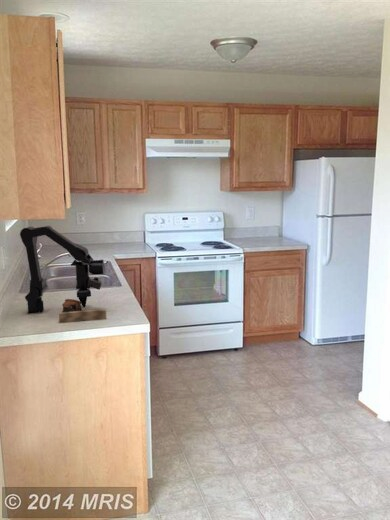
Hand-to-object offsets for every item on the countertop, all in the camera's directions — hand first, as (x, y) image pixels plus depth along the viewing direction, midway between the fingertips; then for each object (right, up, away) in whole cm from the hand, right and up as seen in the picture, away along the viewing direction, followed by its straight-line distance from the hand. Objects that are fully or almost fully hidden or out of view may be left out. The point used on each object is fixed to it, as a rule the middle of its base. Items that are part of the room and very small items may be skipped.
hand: (84, 307), depth 221 cm
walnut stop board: (+3, -4, -13) cm, 14 cm away
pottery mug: (-4, -3, -5) cm, 7 cm away
